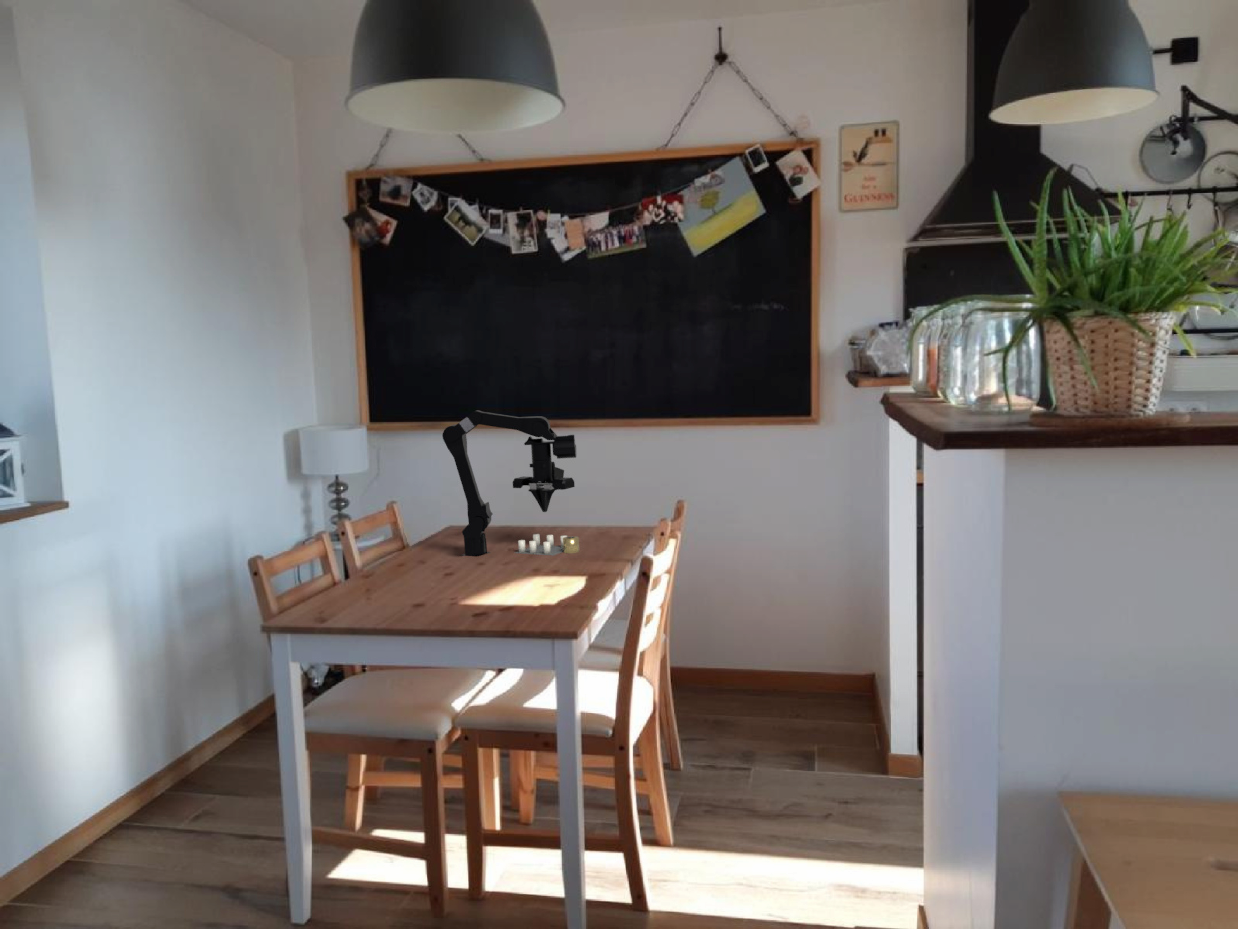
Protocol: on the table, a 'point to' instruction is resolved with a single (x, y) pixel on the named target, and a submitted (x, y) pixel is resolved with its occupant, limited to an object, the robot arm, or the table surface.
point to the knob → (571, 544)
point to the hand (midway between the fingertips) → (544, 511)
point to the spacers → (536, 542)
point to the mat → (540, 550)
